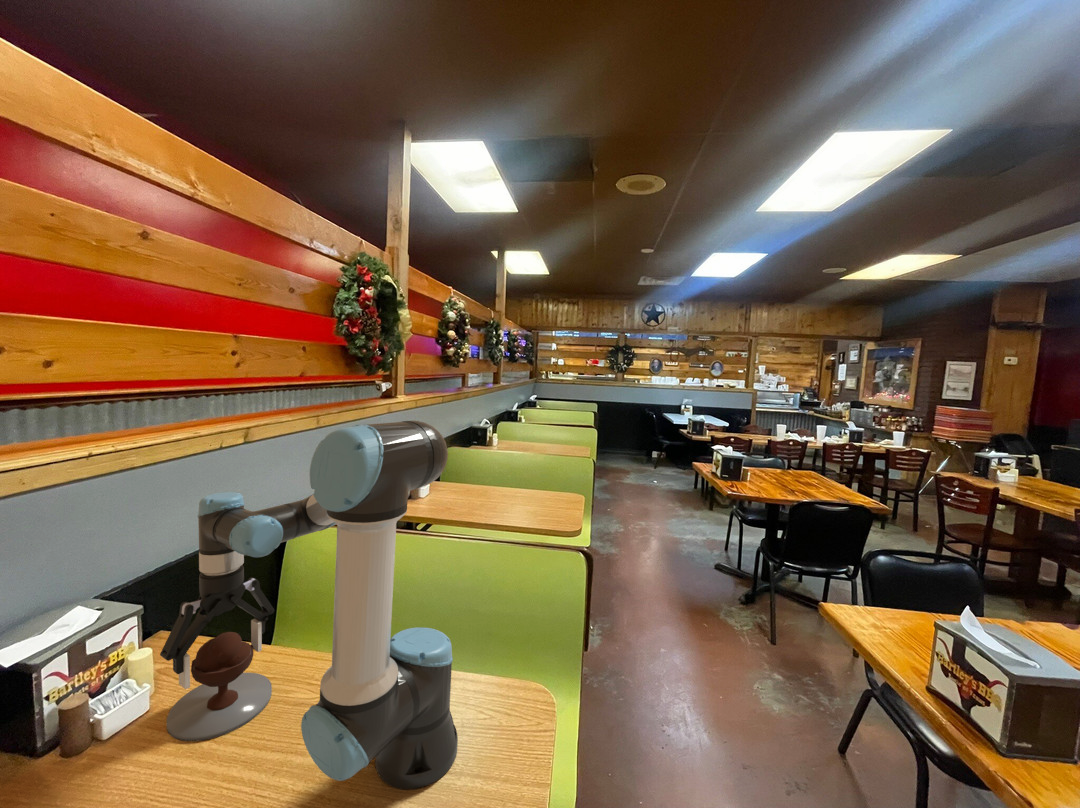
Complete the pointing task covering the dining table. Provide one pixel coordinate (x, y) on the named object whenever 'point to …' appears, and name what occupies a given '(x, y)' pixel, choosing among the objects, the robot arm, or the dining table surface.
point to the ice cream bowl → (221, 666)
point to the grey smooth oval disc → (202, 723)
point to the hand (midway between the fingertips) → (222, 666)
